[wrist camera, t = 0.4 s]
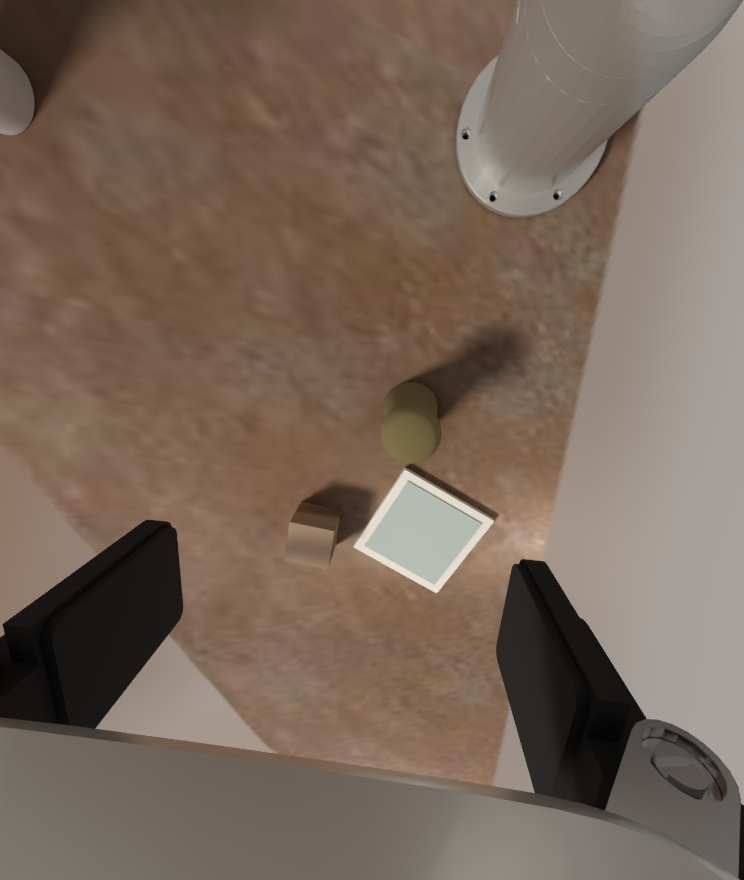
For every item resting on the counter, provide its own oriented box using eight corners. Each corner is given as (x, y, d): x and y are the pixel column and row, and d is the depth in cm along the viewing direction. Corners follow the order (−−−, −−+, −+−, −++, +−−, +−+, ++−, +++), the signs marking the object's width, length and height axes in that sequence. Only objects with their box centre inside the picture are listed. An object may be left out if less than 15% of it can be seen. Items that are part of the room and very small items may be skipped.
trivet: (404, 466, 43) (404, 469, 42) (493, 517, 44) (494, 521, 43) (354, 543, 47) (353, 547, 46) (436, 589, 48) (436, 594, 47)
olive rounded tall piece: (445, 390, 40) (458, 414, 30) (428, 442, 42) (435, 482, 32) (391, 375, 40) (384, 393, 30) (376, 427, 42) (365, 462, 32)
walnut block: (301, 501, 46) (289, 522, 41) (342, 509, 46) (334, 531, 41) (297, 536, 47) (284, 560, 43) (336, 544, 47) (328, 569, 42)
